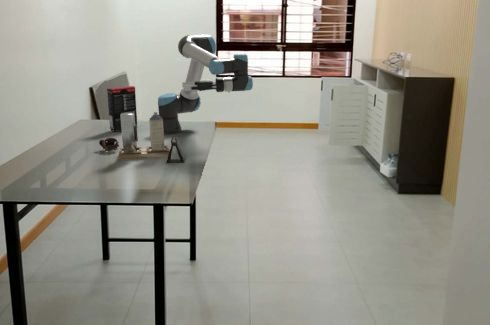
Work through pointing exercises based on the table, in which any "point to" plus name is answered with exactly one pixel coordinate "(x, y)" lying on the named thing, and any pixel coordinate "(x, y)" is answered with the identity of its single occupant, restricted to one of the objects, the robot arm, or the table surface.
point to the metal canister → (129, 132)
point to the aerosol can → (156, 132)
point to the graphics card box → (121, 105)
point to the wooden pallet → (143, 154)
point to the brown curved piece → (109, 144)
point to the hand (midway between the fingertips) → (183, 86)
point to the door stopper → (177, 151)
